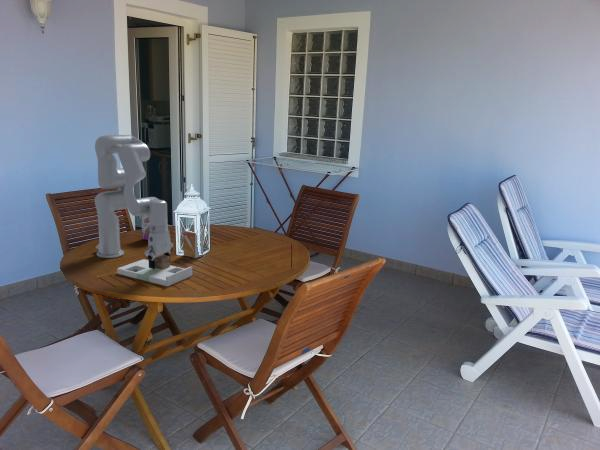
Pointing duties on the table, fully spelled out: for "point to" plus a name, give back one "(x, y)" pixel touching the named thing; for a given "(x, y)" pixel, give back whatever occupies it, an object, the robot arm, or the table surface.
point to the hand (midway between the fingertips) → (159, 265)
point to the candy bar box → (145, 226)
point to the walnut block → (162, 261)
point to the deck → (155, 273)
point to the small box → (191, 244)
